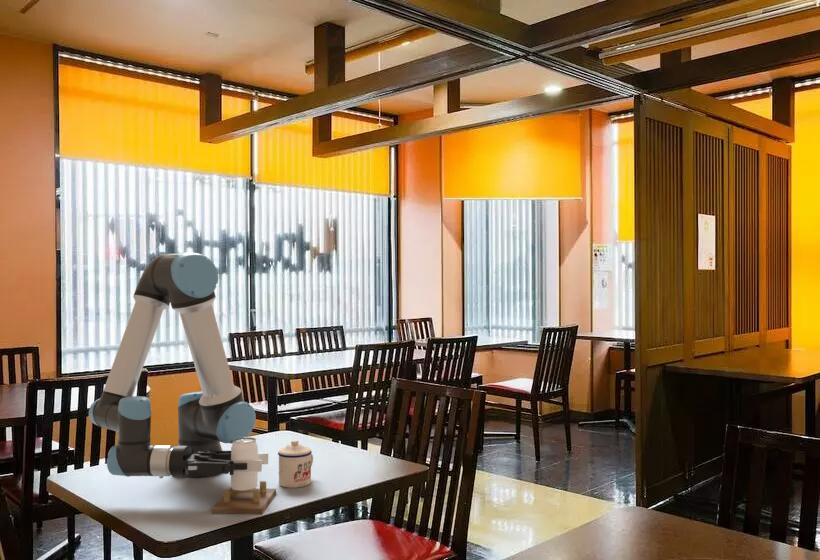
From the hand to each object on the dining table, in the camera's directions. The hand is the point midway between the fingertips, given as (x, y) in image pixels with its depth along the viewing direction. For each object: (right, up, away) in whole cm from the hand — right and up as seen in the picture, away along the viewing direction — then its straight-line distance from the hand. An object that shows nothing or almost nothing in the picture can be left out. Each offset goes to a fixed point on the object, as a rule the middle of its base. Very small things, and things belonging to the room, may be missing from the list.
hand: (264, 462), depth 173 cm
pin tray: (-5, -10, 0) cm, 11 cm away
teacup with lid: (+6, -10, +18) cm, 22 cm away
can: (-5, -7, 0) cm, 8 cm away
